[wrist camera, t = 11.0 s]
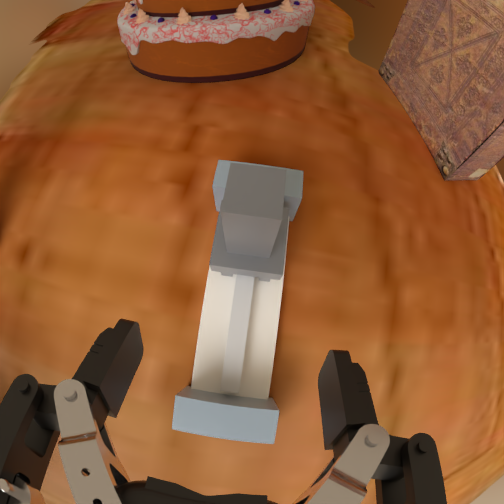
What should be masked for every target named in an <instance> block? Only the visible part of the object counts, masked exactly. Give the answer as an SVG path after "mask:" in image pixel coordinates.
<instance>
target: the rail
mask: <svg viewBox="0 0 504 504" xmlns="http://www.w3.org/2000/svg"><path fill="white" fill-rule="evenodd" d="M231 163H239V164H248V165H256V166H264V167H271V168H278V169H284V170H287V171H286V182H285V193H284V204H283V208H288V209H289V218H288V227H289V221H293V219H294V217H295V214H296V212H297V209H298V207H299V205H300V202H301V200H302V191H303V171H301V170H294V169H288V168H282V167H275V166H268V165H260V164H252V163H244V162H235V161H226V160H219V161H218V165H217V169H216V173H215V177H214V181H213V186H212V187H213V193H214V199H215V205H216V210H217V211H220V206H221V201H222V200H223V197H224V192H225V187H226V183H227V178H228V173H229V168H230V164H231ZM287 238H288V229H287ZM286 249H287V240H286ZM285 259H286V250H285ZM284 269H285V260H284ZM283 279H284V270H283V276H282V277H281V279H280V280H274V279H270V282H266V281H259V277H252V276H244V275H237V274H233V277H230V276H223V275H221V272H216V271H212V270H211V268H210V267H209V272H208V278H207V284H206V290H205V296H204V302H203V308H202V314H201V321H200V327H199V334H198V340H197V347H196V354H195V361H194V368H193V376H192V384H191V386H186V387H185V388H184V389H183V390H182V391H180V392H179V393H178V394H177V395H176V396H175V404H174V413H173V423H172V429H174V430H179V431H183V432H188V433H193V434H198V435H204V436H209V437H215V438H222V439H229V440H237V441H245V442H255V443H268V444H274V440H275V435H276V429H277V423H278V417H279V409H278V407H277V405H276V403H275V401H274V400H273V398H270V397H269V390H270V384H271V376H272V369H273V362H274V354H275V347H276V339H277V331H278V323H279V314H280V306H281V297H282V288H283Z"/></svg>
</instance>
